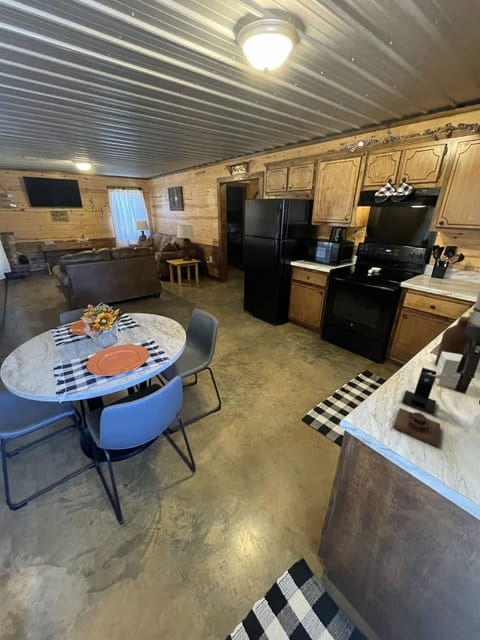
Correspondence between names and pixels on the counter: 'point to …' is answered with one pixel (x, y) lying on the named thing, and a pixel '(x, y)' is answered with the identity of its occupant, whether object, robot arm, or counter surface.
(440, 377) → the switch
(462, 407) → the counter surface
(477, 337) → the robot arm
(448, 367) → the white packaging box
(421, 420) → the button
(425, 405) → the switch bracket
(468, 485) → the counter surface
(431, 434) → the button block
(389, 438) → the counter surface
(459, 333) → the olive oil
